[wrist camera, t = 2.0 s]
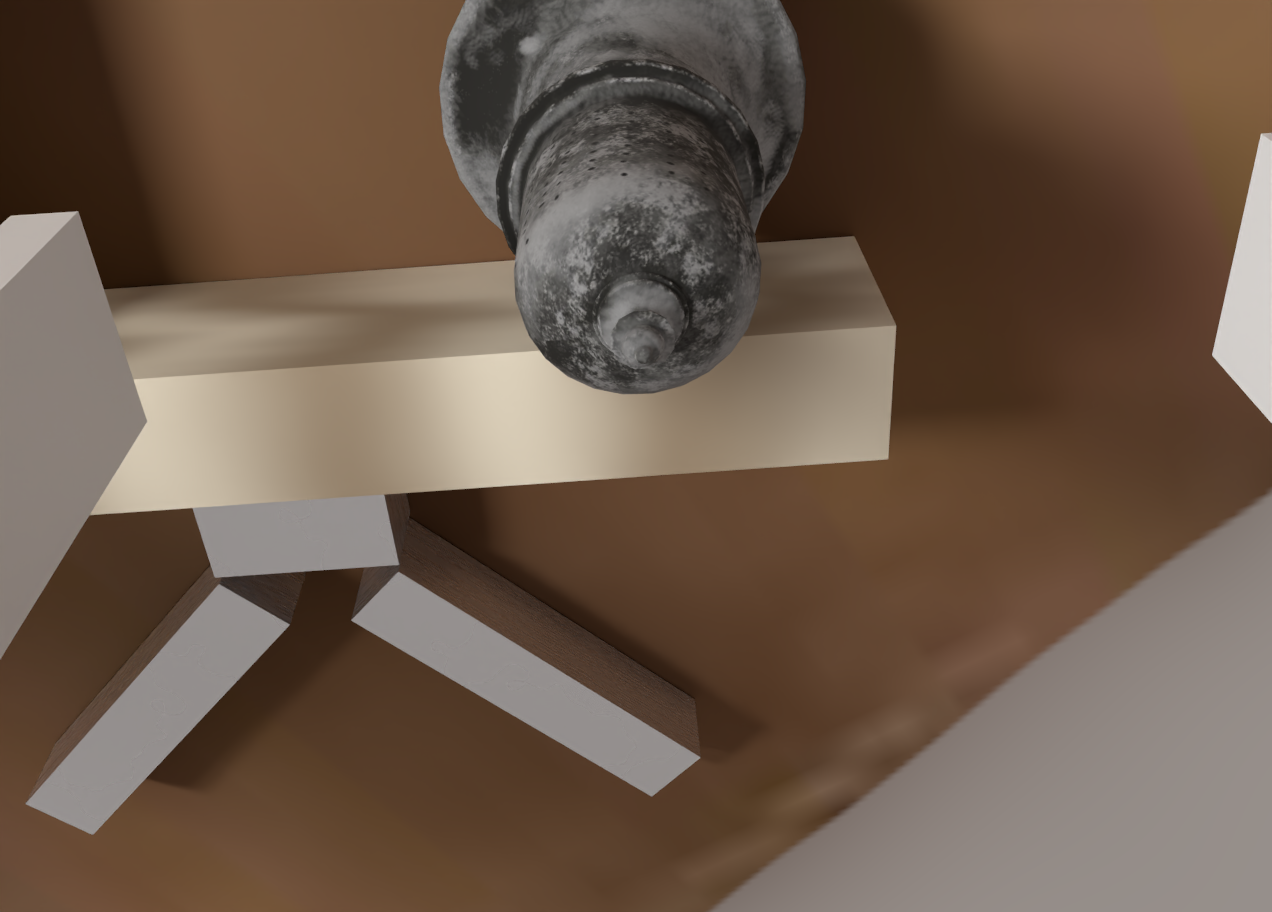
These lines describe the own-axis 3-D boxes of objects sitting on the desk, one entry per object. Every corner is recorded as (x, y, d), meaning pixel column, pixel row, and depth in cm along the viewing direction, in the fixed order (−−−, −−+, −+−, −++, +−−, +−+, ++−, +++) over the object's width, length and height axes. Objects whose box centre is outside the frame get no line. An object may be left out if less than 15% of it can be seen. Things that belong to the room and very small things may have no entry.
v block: (-69, 470, 27) (-113, 523, 25) (681, 417, 27) (687, 467, 25) (70, 777, 32) (42, 838, 31) (696, 734, 32) (702, 793, 30)
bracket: (-75, 423, 26) (-172, 533, 23) (-409, -324, 19) (-624, -322, 16) (849, 358, 26) (887, 459, 23) (879, -419, 19) (943, -439, 15)
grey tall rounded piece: (818, 131, 23) (992, 478, 13) (542, 246, 25) (511, 646, 14) (709, -185, 20) (829, -43, 10) (401, -38, 22) (236, 218, 11)
